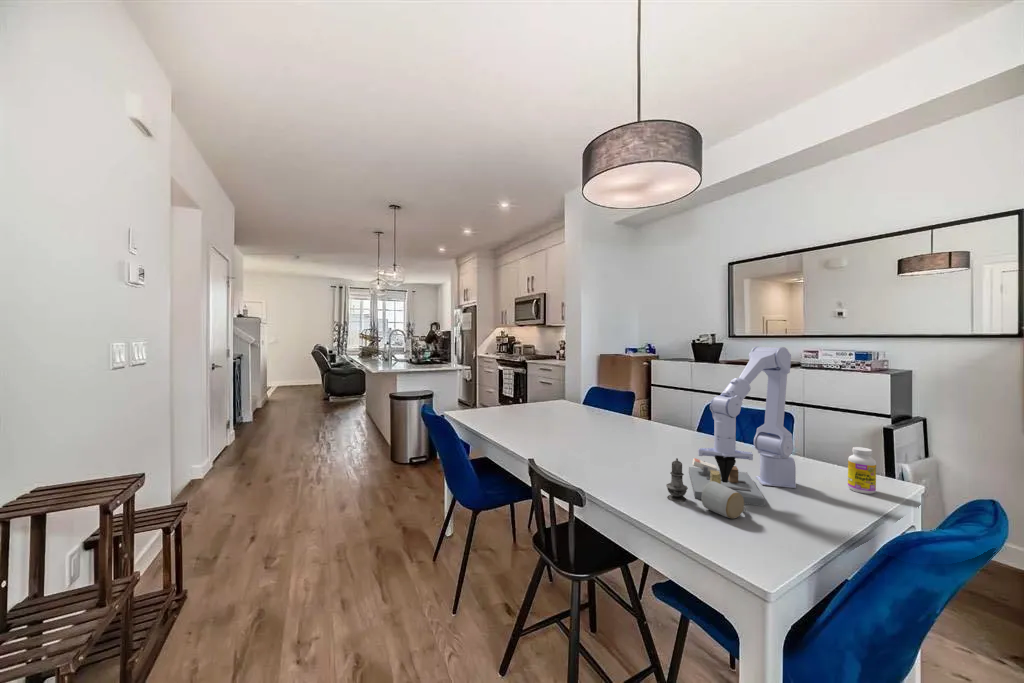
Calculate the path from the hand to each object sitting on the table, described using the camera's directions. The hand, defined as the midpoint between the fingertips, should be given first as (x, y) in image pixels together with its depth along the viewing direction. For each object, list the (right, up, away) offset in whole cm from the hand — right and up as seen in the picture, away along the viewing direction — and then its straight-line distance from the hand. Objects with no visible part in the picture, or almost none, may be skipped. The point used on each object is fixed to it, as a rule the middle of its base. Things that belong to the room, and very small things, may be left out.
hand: (724, 481), depth 125 cm
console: (+2, -4, +6) cm, 7 cm away
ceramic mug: (-6, -4, -13) cm, 15 cm away
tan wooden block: (-2, -2, +1) cm, 3 cm away
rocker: (0, +1, +14) cm, 14 cm away
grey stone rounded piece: (-16, -4, -3) cm, 16 cm away
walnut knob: (+5, -1, +6) cm, 8 cm away
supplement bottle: (+44, -4, +3) cm, 44 cm away
